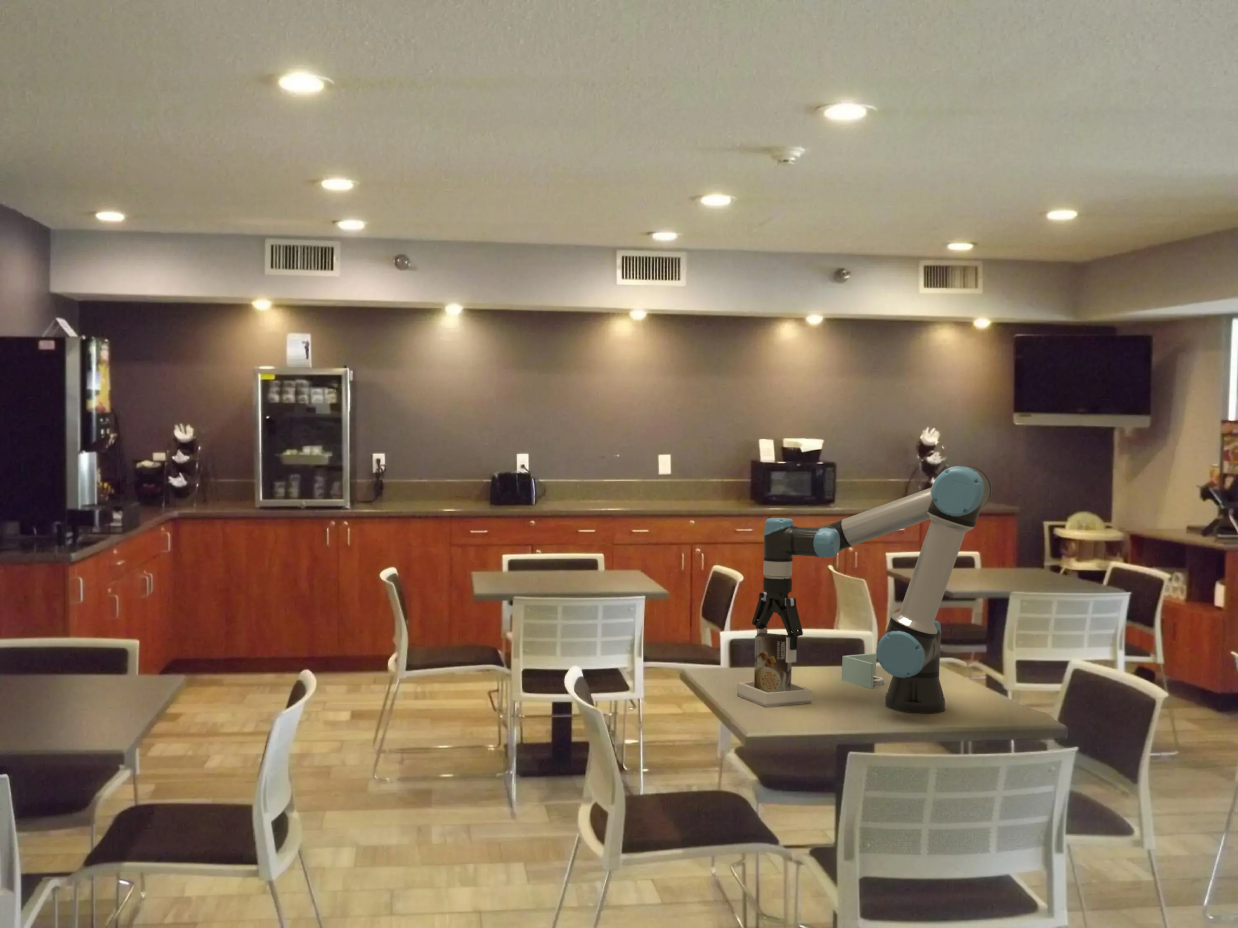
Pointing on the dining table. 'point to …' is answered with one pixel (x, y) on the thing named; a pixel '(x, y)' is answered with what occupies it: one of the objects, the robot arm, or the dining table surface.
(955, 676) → the dining table surface
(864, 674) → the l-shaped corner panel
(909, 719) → the dining table surface
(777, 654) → the coffee box
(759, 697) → the white square tray
